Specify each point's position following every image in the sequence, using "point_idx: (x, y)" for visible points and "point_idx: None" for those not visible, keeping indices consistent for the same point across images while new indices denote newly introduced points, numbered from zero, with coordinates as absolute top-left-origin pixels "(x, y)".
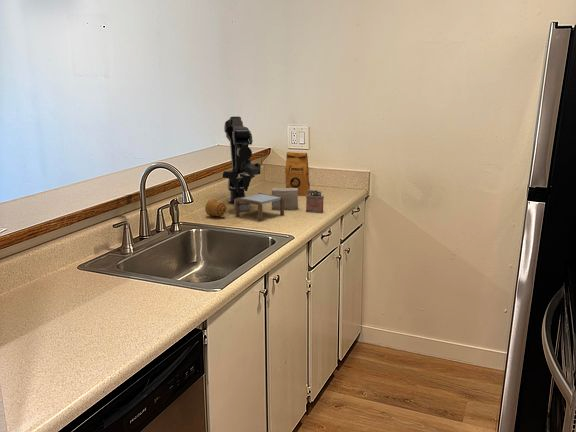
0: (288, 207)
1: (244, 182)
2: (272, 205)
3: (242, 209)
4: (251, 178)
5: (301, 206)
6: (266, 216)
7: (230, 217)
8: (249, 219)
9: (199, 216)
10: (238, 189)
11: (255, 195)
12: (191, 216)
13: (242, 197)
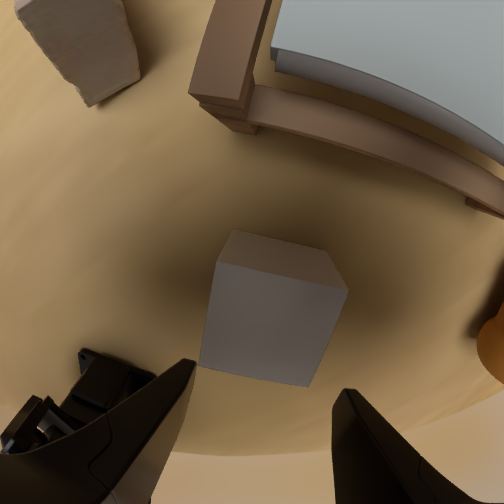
0: None
1: (149, 487)
2: (137, 56)
3: (328, 255)
4: (13, 469)
5: None
6: None
7: (500, 228)
8: None
9: None
10: (384, 418)
11: (430, 66)
12: (489, 390)
13: (209, 356)
